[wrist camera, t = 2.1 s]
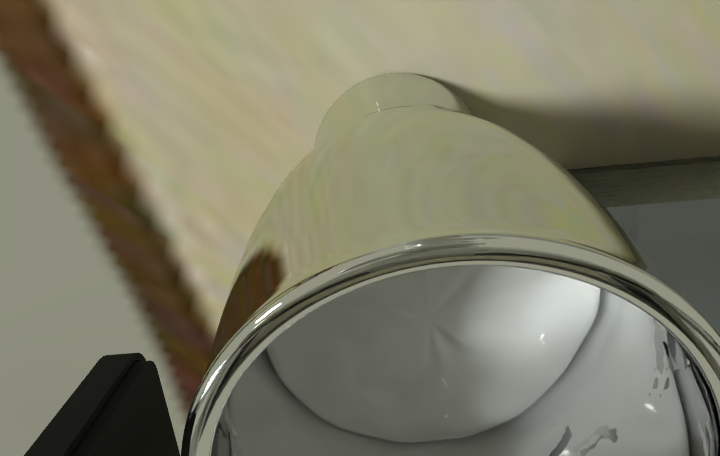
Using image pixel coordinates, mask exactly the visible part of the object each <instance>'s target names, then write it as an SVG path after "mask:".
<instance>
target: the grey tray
mask: <svg viewBox="0 0 720 456" xmlns="http://www.w3.org/2000/svg"><path fill="white" fill-rule="evenodd" d="M567 171H568V172H569V173H570V174H572V175H573V176H574V177H575V178H576V179H577V180H578V181H579V182H580V183H581V184H582V185H583V186H584V187H585V188H586V189H587V190H588V191H589V192H590V193H591V194H592V195H593V196H594V197H595V198H596V199H597V200H598V201H599V202H600V203H601V204H602V205H603V206H604V207H605V208H606V209H607V210H608V211H609V212H610V213H611V214H612V215H613V217H614V218H615V219H616V220H617V221H618V222H619V223H620V225H621V226H622V227H623V228H624V229H625V230H626V232H627V233H628V234H629V235H630V236H631V237H632V238H633V240H634V241H635V242H636V243H637V244H638V245H639V246H640V248H641V249H642V250H643V251H644V252H645V254H646V255H647V256H648V257H649V259H650V260H651V261H652V262H653V264H654V265H655V266H656V267H657V269H658V270H659V271H660V272H661V274H662V275H663V276H664V277H665V279H666V280H667V281H668V282H669V283H670V285H671V286H672V287H673V288H674V289H675V290H676V292H677V293H678V294H679V295H681V296H682V297H683V298H684V299H686V300H687V301H688V302H689V303H690V304H691V305H692V306H693V307H695V308H696V309H697V310H698V311H699V312H700V313H701V314H702V315H703V316H704V318H705V319H706V320H707V321H708V322H709V323H710V324H711V325H712V327H713V328H714V329H715V330H716V332H717V333H718V334H719V335H720V156H715V157H704V158H693V159H682V160H671V161H660V162H649V163H638V164H627V165H616V166H604V167H593V168H582V169H571V170H567Z"/></svg>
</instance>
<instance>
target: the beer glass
mask: <svg viewBox="0 0 720 456" xmlns="http://www.w3.org/2000/svg"><path fill="white" fill-rule="evenodd" d="M181 456H720V335H719V334H718V333H717V332H716V330H715V329H714V328H713V327H712V325H711V324H710V323H709V322H708V321H707V320H706V319H705V318H704V316H703V315H702V314H701V313H700V312H699V311H698V310H697V309H696V308H695V307H693V306H692V305H691V304H690V303H689V302H688V301H687V300H686V299H684V298H683V297H682V296H681V295H679V294H678V293H677V292H676V290H675V289H674V288H673V287H672V286H671V285H670V283H669V282H668V281H667V280H666V279H665V277H664V276H663V275H662V274H661V272H660V271H659V270H658V269H657V267H656V266H655V265H654V264H653V262H652V261H651V260H650V259H649V257H648V256H647V255H646V254H645V252H644V251H643V250H642V249H641V248H640V246H639V245H638V244H637V243H636V242H635V241H634V240H633V238H632V237H631V236H630V235H629V234H628V233H627V232H626V230H625V229H624V228H623V227H622V226H621V225H620V223H619V222H618V221H617V220H616V219H615V218H614V217H613V215H612V214H611V213H610V212H609V211H608V210H607V209H606V208H605V207H604V206H603V205H602V204H601V203H600V202H599V201H598V200H597V199H596V198H595V197H594V196H593V195H592V194H591V193H590V192H589V191H588V190H587V189H586V188H585V187H584V186H583V185H582V184H581V183H580V182H579V181H578V180H577V179H576V178H575V177H574V176H573V175H572V174H570V173H569V172H568V171H567V170H566V169H565V168H564V167H562V166H561V165H560V164H559V163H557V162H556V161H555V160H553V159H552V158H550V157H549V156H548V155H546V154H545V153H543V152H542V151H541V150H539V149H538V148H536V147H535V146H534V145H532V144H531V143H529V142H528V141H527V140H525V139H524V138H522V137H520V136H519V135H517V134H515V133H513V132H512V131H510V130H508V129H506V128H504V127H501V126H499V125H497V124H494V123H492V122H489V121H486V120H483V119H480V118H478V117H475V116H472V114H471V112H470V111H469V109H468V108H467V106H466V105H465V104H464V103H463V101H462V100H461V99H460V98H459V97H458V96H457V95H456V94H455V93H454V92H452V91H451V90H450V89H448V88H447V87H445V86H444V85H442V84H440V83H439V82H437V81H434V80H432V79H430V78H427V77H424V76H420V75H415V74H408V73H390V74H383V75H379V76H375V77H372V78H369V79H367V80H364V81H362V82H360V83H358V84H356V85H355V86H353V87H352V88H350V89H349V90H347V91H346V92H345V93H344V94H342V95H341V96H340V97H339V98H338V99H337V100H336V101H335V102H334V103H333V105H332V106H331V107H330V108H329V110H328V111H327V113H326V114H325V116H324V118H323V120H322V122H321V124H320V126H319V129H318V132H317V136H316V140H315V146H314V149H313V150H312V151H311V152H310V153H309V154H308V155H307V156H306V157H305V158H304V159H303V160H302V161H300V162H299V163H298V164H297V166H296V167H295V168H294V169H293V170H292V171H291V172H290V173H289V174H288V176H287V177H286V178H285V179H284V181H283V182H282V183H281V185H280V186H279V188H278V189H277V191H276V192H275V194H274V196H273V197H272V199H271V201H270V202H269V204H268V206H267V207H266V209H265V211H264V212H263V214H262V216H261V217H260V219H259V221H258V223H257V225H256V227H255V229H254V231H253V233H252V235H251V237H250V239H249V242H248V244H247V247H246V249H245V252H244V254H243V256H242V259H241V261H240V264H239V266H238V269H237V271H236V274H235V276H234V279H233V282H232V285H231V288H230V291H229V294H228V297H227V301H226V304H225V307H224V310H223V313H222V316H221V320H220V323H219V326H218V329H217V333H216V336H215V340H214V344H213V347H212V351H211V355H210V358H209V362H208V366H207V369H206V372H205V375H204V378H203V380H202V382H201V384H200V386H199V388H198V390H197V392H196V394H195V397H194V399H193V402H192V405H191V407H190V410H189V414H188V417H187V420H186V425H185V429H184V435H183V441H182V451H181Z"/></svg>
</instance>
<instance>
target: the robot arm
mask: <svg viewBox="0 0 720 456" xmlns="http://www.w3.org/2000/svg"><path fill="white" fill-rule="evenodd" d="M24 456H180V454H179V449H178V446H177V442H176V438H175V435H174V431H173V427H172V423H171V420H170V416H169V412H168V408H167V405H166V401H165V397H164V393H163V390H162V386H161V382H160V378H159V375H158V371H157V368H156V365H155V364H154V362H153V361H146V360H145V358H144V357H143V355H142V354H140V353H130V354H117V355H106V356H103V357H102V358H101V359H100V360H99V361H98V362H97V363H96V365H95V366H94V367H93V368H92V370H91V371H90V373H89V374H88V375H87V376H86V378H85V379H84V380H83V381H82V382H81V384H80V385H79V386H78V388H77V389H76V390H75V391H74V393H73V394H72V395H71V397H70V398H69V399H68V400H67V402H66V403H65V404H64V405H63V407H62V408H61V409H60V410H59V412H58V413H57V414H56V416H55V417H54V418H53V419H52V421H51V422H50V423H49V424H48V426H47V427H46V429H44V431H43V432H42V433H41V435H40V436H39V437H38V439H37V440H36V441H35V442H34V443H33V445H32V446H31V447H30V449H29V450H28V451H27V452H26V454H25V455H24Z"/></svg>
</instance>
